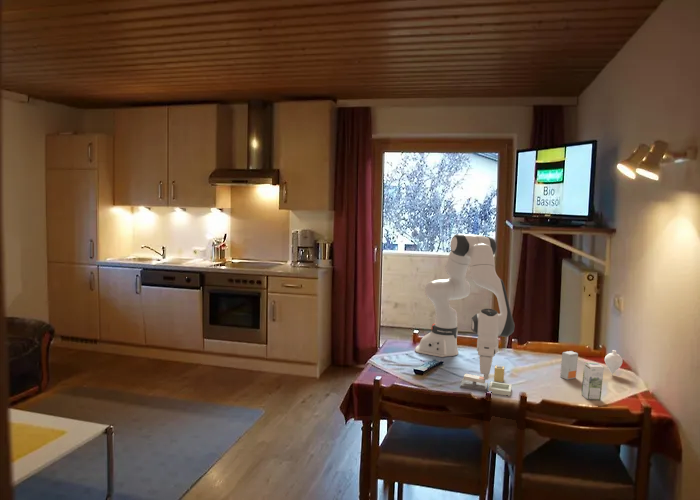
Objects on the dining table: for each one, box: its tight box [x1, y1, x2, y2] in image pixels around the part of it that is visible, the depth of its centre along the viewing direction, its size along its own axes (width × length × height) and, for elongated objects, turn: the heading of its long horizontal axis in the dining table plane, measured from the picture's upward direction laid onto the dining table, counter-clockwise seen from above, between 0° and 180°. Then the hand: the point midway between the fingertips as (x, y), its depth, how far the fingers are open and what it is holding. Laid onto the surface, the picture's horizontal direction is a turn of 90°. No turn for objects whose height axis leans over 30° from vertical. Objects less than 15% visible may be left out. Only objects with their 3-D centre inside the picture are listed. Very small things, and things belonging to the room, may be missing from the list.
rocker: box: [462, 373, 487, 384], centre depth 239 cm, size 9×4×2 cm, turn 71°
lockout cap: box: [493, 364, 505, 383], centre depth 248 cm, size 4×4×6 cm
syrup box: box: [581, 362, 605, 401], centre depth 230 cm, size 6×6×14 cm
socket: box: [487, 381, 513, 397], centre depth 235 cm, size 9×9×2 cm
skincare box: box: [559, 350, 579, 380], centre depth 254 cm, size 6×4×12 cm
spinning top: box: [604, 349, 624, 376], centre depth 260 cm, size 8×8×12 cm
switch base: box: [459, 379, 489, 392], centre depth 239 cm, size 11×8×2 cm
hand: (486, 378), depth 237 cm, fingers closed, pressing on rocker
